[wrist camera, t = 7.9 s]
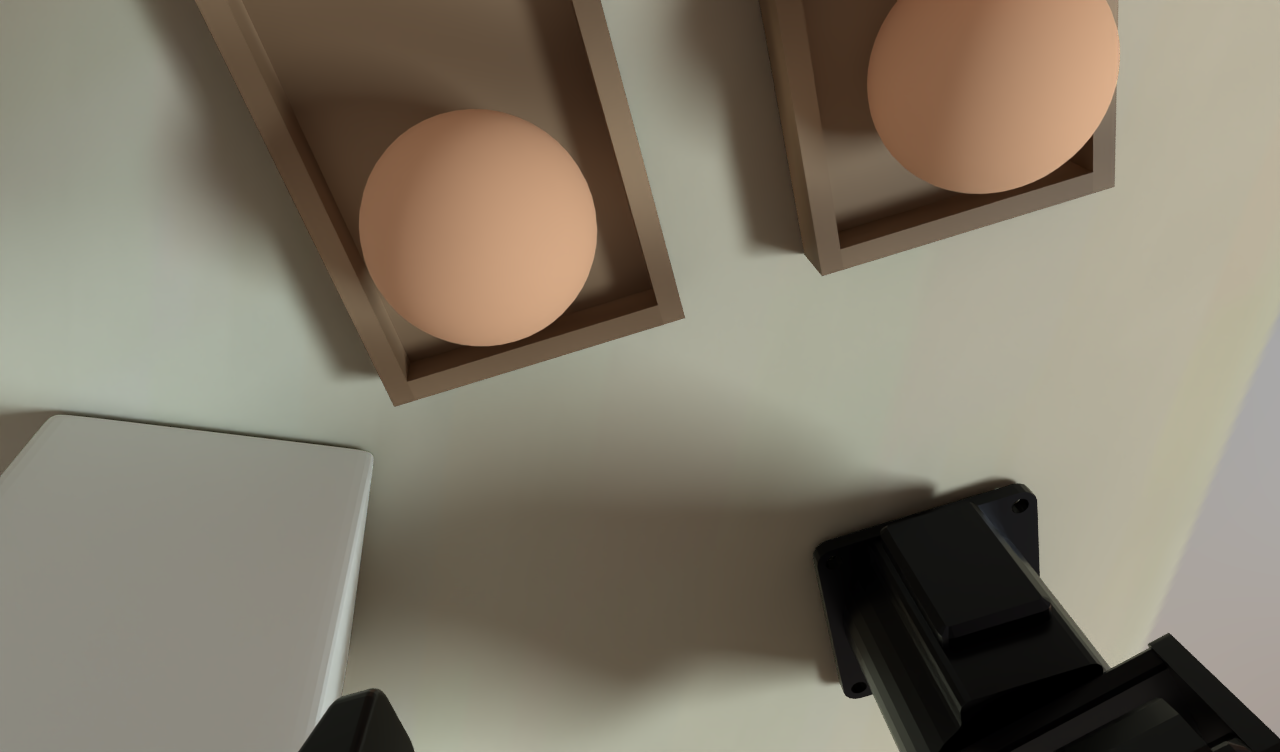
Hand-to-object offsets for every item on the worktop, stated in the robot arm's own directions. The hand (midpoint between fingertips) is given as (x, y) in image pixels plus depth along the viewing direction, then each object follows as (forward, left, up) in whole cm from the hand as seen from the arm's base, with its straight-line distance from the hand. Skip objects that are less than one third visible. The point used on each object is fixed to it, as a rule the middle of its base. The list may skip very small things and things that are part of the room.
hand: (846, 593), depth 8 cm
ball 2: (+1, -7, -10) cm, 12 cm away
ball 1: (+1, +3, -10) cm, 11 cm away
